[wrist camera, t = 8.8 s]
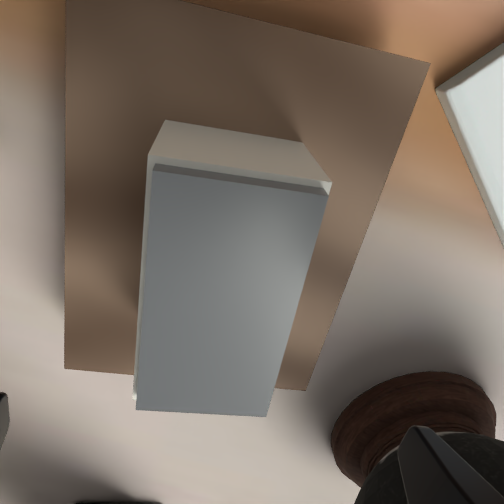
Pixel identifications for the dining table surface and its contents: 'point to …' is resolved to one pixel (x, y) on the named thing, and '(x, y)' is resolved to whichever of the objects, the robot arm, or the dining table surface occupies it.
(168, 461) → the dining table surface
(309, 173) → the block
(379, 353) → the dining table surface
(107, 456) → the dining table surface
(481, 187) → the external hard drive
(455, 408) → the black orb on base
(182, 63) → the stand
